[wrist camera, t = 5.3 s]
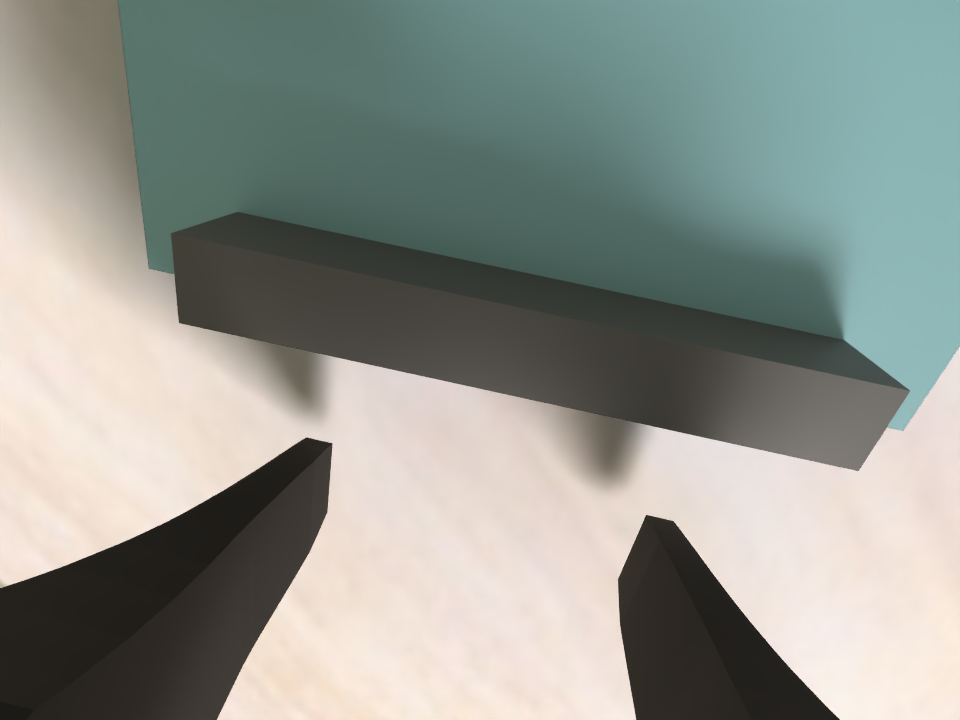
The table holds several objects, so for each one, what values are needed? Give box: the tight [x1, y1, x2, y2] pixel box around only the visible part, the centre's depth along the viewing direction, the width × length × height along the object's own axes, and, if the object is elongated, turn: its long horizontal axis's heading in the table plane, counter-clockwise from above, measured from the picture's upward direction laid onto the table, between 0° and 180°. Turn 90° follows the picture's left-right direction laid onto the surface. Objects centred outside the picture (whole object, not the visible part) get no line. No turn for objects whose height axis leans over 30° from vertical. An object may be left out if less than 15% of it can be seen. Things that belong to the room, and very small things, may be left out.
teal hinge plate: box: [118, 0, 960, 471], centre depth 8 cm, size 16×10×3 cm, turn 80°
